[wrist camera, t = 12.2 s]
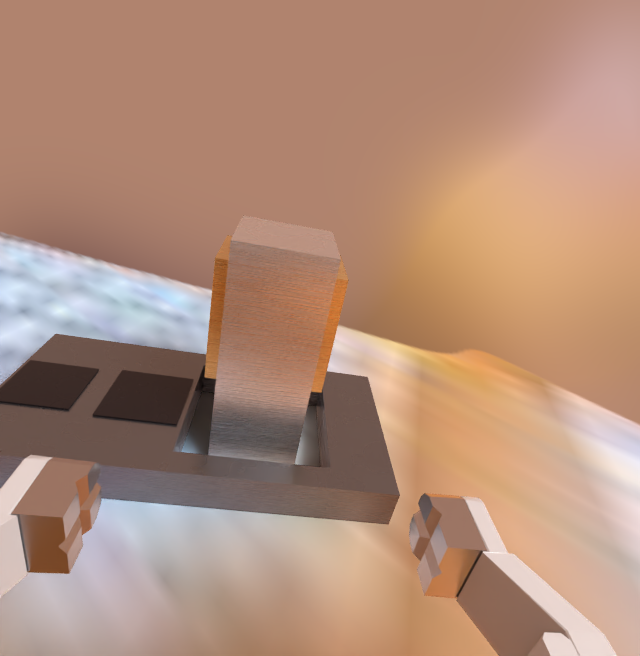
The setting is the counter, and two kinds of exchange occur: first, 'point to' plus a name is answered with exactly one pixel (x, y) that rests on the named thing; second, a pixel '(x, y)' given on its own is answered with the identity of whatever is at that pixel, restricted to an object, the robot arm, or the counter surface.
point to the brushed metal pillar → (270, 335)
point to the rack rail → (171, 430)
